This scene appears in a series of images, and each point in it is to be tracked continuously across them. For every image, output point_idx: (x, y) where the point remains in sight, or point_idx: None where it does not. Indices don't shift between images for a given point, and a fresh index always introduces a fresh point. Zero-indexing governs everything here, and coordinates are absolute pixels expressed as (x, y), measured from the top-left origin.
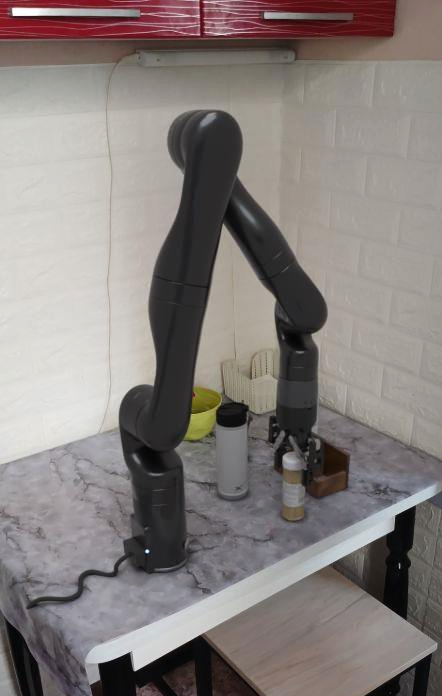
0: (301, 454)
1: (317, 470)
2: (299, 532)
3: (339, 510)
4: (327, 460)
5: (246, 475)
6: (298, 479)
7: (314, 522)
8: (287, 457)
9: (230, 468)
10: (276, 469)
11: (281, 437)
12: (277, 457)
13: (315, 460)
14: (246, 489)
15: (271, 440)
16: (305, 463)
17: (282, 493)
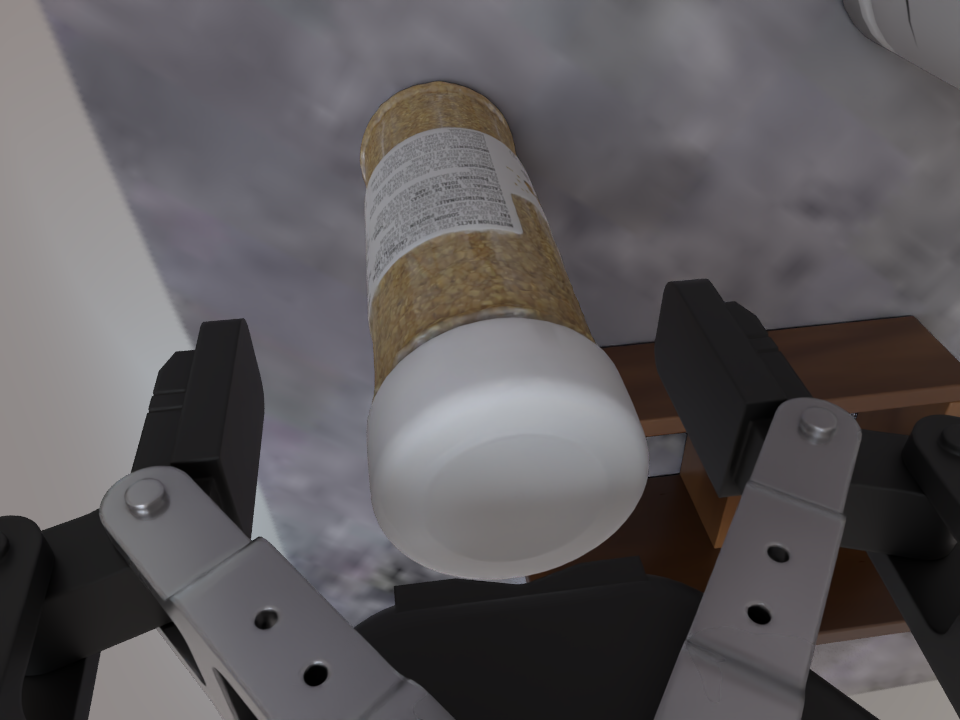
0: (196, 637)
1: (697, 473)
2: (230, 82)
3: (351, 395)
4: (684, 553)
5: (944, 59)
6: (374, 341)
7: (301, 228)
8: (546, 436)
9: None
10: (893, 320)
11: (739, 639)
12: (716, 353)
13: (173, 649)
14: (868, 18)
15: (932, 462)
16: (128, 554)
17: (502, 166)
